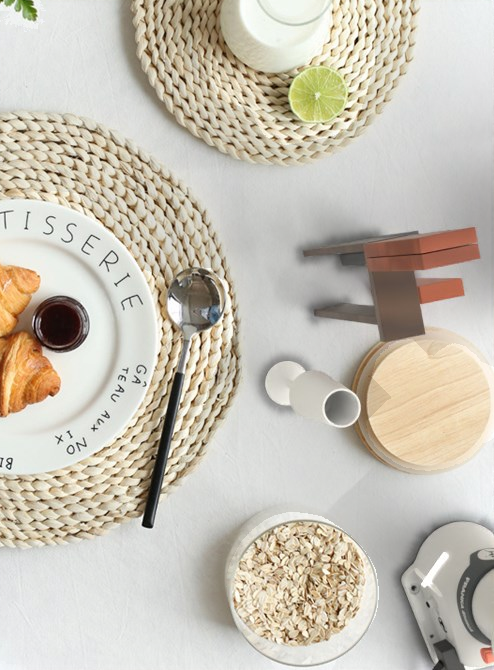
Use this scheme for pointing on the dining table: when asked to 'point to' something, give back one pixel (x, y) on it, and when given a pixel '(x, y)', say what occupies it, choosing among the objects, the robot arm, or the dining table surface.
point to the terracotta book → (439, 289)
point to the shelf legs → (345, 310)
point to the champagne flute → (312, 394)
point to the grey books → (359, 257)
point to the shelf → (410, 275)
